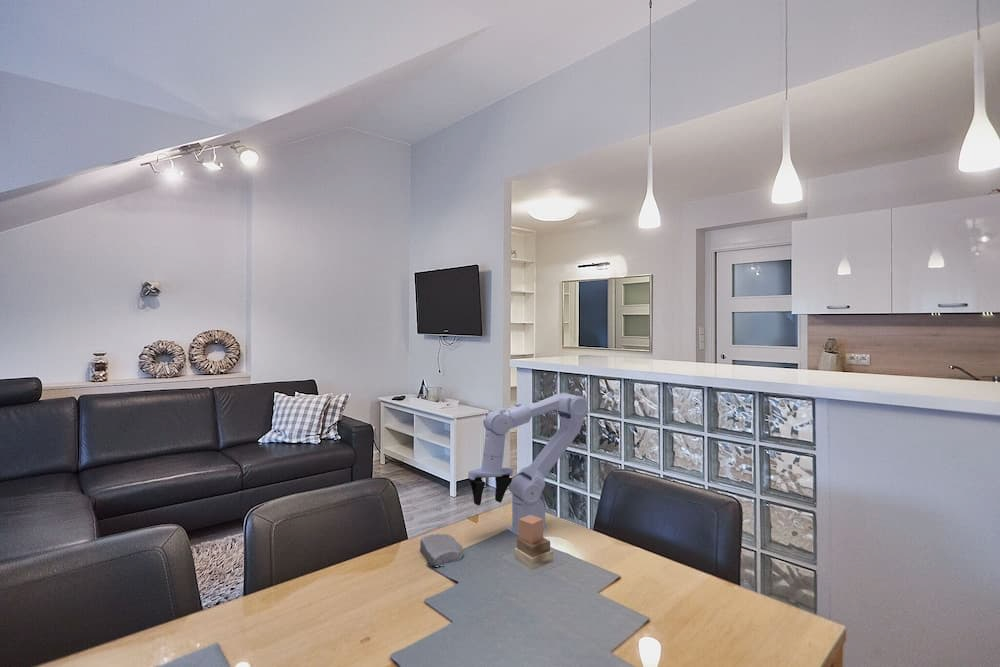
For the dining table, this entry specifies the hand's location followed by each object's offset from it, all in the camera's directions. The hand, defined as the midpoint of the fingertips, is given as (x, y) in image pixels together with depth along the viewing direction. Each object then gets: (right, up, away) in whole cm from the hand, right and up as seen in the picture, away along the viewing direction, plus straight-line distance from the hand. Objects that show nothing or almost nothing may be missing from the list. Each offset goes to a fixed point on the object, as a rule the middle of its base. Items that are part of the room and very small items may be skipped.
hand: (487, 502), depth 140 cm
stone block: (-11, -11, -10) cm, 19 cm away
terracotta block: (+11, -5, -13) cm, 18 cm away
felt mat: (+12, -10, -14) cm, 21 cm away
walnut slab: (+12, -7, -14) cm, 20 cm away
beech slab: (+12, -10, -14) cm, 21 cm away
